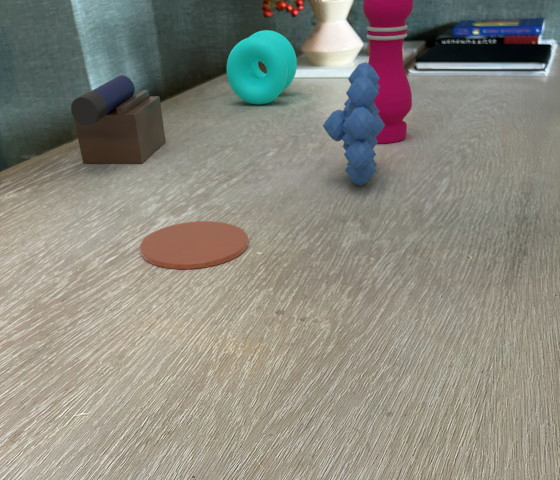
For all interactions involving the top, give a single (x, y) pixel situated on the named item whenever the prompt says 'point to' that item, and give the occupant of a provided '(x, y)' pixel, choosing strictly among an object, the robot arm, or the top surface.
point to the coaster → (194, 245)
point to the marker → (102, 100)
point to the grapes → (358, 124)
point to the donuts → (248, 75)
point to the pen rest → (124, 132)
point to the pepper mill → (389, 64)
